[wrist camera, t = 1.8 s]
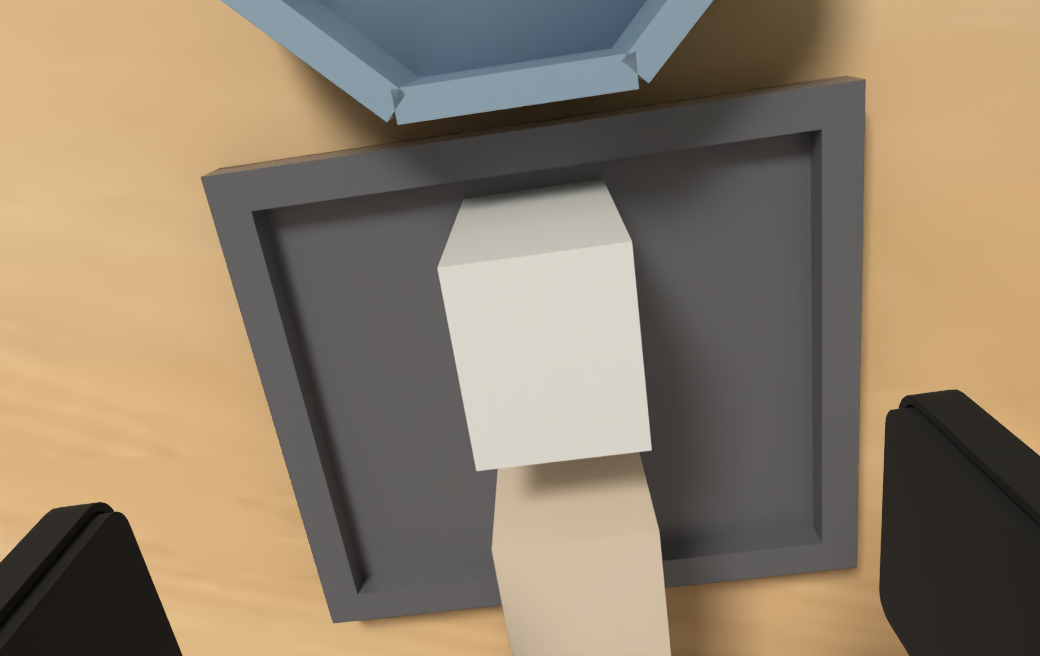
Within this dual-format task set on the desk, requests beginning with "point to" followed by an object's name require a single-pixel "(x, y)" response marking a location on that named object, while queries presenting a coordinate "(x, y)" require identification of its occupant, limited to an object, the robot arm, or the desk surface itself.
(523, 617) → the beige rectangular block
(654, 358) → the tray
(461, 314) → the white block
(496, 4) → the bowl
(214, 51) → the desk surface
